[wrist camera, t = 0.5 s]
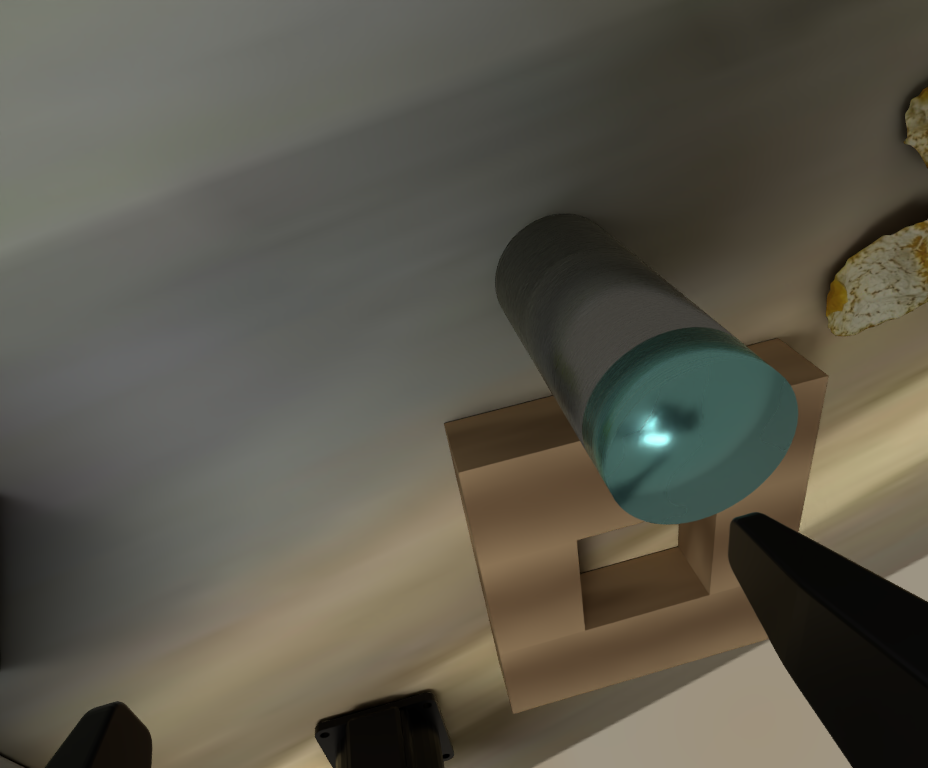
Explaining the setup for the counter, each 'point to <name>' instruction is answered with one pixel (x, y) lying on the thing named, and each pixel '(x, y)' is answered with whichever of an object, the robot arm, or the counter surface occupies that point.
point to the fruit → (885, 261)
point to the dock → (617, 586)
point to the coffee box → (8, 763)
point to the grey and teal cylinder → (643, 374)
